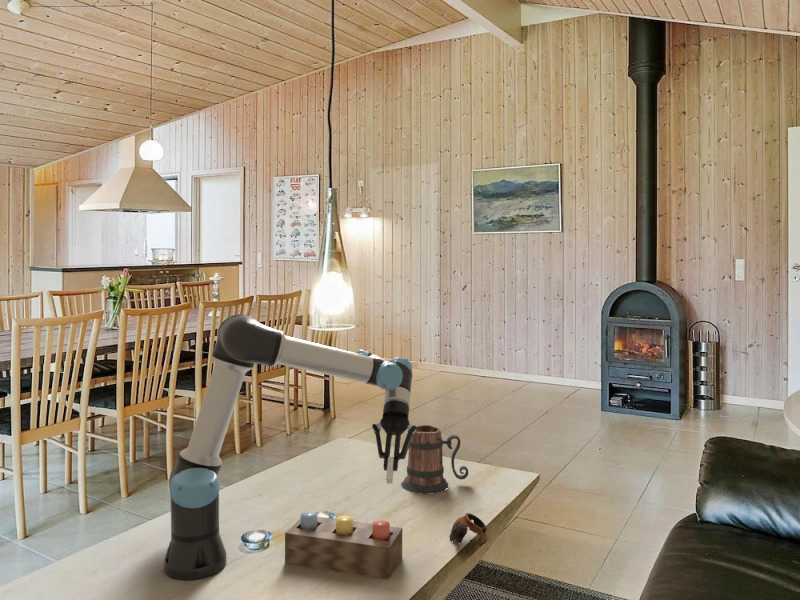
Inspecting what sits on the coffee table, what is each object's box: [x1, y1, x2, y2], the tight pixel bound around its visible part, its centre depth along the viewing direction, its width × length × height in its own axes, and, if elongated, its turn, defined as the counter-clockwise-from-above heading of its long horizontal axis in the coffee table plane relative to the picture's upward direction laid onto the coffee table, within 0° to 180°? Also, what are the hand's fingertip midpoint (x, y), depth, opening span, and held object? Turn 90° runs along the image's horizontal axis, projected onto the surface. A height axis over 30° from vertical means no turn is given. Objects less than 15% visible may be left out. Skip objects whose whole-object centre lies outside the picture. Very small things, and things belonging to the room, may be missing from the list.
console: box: [284, 516, 403, 580], centre depth 164 cm, size 28×12×8 cm, turn 74°
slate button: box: [300, 510, 318, 531], centre depth 166 cm, size 4×4×4 cm
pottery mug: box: [449, 512, 488, 545], centre depth 175 cm, size 12×9×8 cm
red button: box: [371, 519, 391, 541], centre depth 160 cm, size 4×4×4 cm
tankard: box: [400, 424, 469, 495], centre depth 219 cm, size 24×17×20 cm
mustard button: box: [335, 515, 354, 536], centre depth 163 cm, size 4×4×4 cm
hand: (389, 481), depth 169 cm, fingers closed
